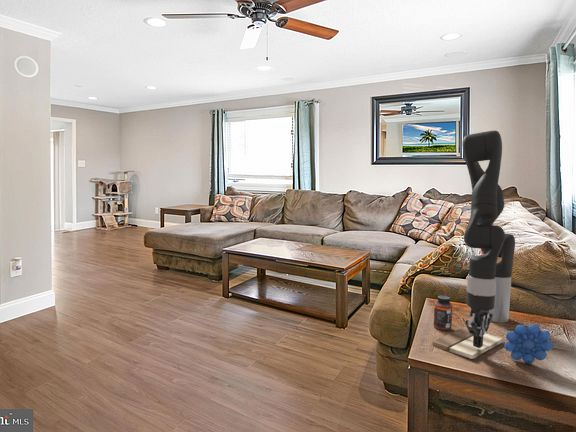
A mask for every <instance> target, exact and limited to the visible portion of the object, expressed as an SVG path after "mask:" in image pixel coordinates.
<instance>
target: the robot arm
mask: <svg viewBox="0 0 576 432" xmlns="http://www.w3.org/2000/svg"><path fill="white" fill-rule="evenodd" d="M502 141H503V139H502V136H501V134H500V132H499V131H497V130H488V131H482V132H477V133H470V134H467V135H465V136H463V138H462V150H463V151H462V153H463V157H464V160H465V164H466V167H467V171H468V174H469V180H470V183H471V184H470V185H471V190H472V192H471V197H470V201H471V204H470V216H469V220H468V224H467V226H466V228H465V231H464V235H463V240H464V244H465V245H466V247H469V248H470V249H481V252H482V254H480V255H479V254H478V255H473V256H471V257H470V258H469V262H468V276H467V282H466V283H467V284H466V298H465V301H466V302H465V303H466V306H468V307H469V308H470V312H469V320H468V319H466V320H465V322H464V323H465V327H467V328H468V331H469V333H470V334H473V335H474V337H473V346H475V347H477V348H481V347H482V346H483V335H484V334H485V333H487V332H488V329H489V327H490V324H491V322H494V323H501V324H502V323H503V324H504V323H508V322H509V321H510V320H509V317H510V316H509V315H510V305H511V304H510V303H511V292H512V291H511V289H512V276H513V275H512V274H513V266H514V265H513V264H514V258H515V257H514V255H515V250H516V249H515V248H516V240H515V236H514V235H513V234H511V233H506V232H505V230H504V229H503V227H502V226H500V225H494V223H495V221H496V220H498V218H499V216H500V215H501V214H502V212H503V211H504V208H505V199H504V192H503V189H502V187H501V186H500V184H499V178H500V172H501V165H502V164H501V163H502V155H503V154H502V153H503V142H502ZM484 161H489V162H488V166H487V167H486V169H485V171H484V170H483V168H482V167H481V165H480V162H484ZM499 258H500V259H501V261H500V262H498V259H499Z"/></svg>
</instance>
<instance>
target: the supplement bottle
mask: <svg viewBox="0 0 576 432" xmlns="http://www.w3.org/2000/svg"><path fill="white" fill-rule="evenodd" d="M450 301H451V298H450V296H446V295H438V296H437V301H436V302H435V303H434V309H433V311H434V312H433V327H434V328H435V329H437V330H440V331H450V330H451V329H452V325H453V323H452V322H453V305H452V303H451V302H450Z"/></svg>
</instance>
